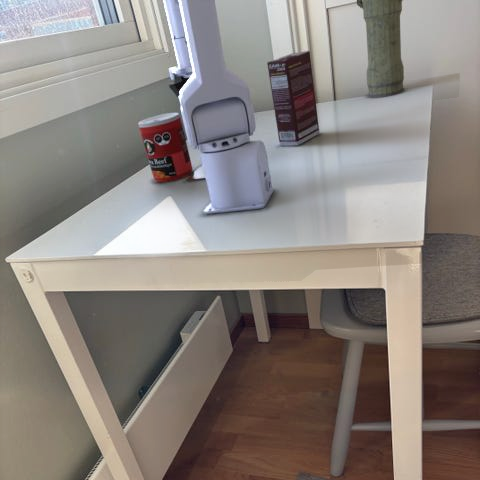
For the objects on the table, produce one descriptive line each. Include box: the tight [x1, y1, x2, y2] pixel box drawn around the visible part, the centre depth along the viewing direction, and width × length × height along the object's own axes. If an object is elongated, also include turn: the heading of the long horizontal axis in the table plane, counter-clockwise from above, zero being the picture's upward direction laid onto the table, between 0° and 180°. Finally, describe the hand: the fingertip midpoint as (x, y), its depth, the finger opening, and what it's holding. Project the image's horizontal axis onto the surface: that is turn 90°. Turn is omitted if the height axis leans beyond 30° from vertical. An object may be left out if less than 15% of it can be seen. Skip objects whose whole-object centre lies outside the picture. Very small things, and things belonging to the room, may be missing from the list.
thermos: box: [356, 0, 405, 98], centre depth 121 cm, size 9×12×35 cm
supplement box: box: [266, 50, 320, 147], centre depth 101 cm, size 9×5×16 cm, turn 141°
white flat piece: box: [185, 163, 206, 182], centre depth 97 cm, size 10×10×1 cm
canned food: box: [137, 112, 193, 183], centre depth 97 cm, size 8×8×11 cm
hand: (206, 120), depth 92 cm, fingers open, 7 cm apart
